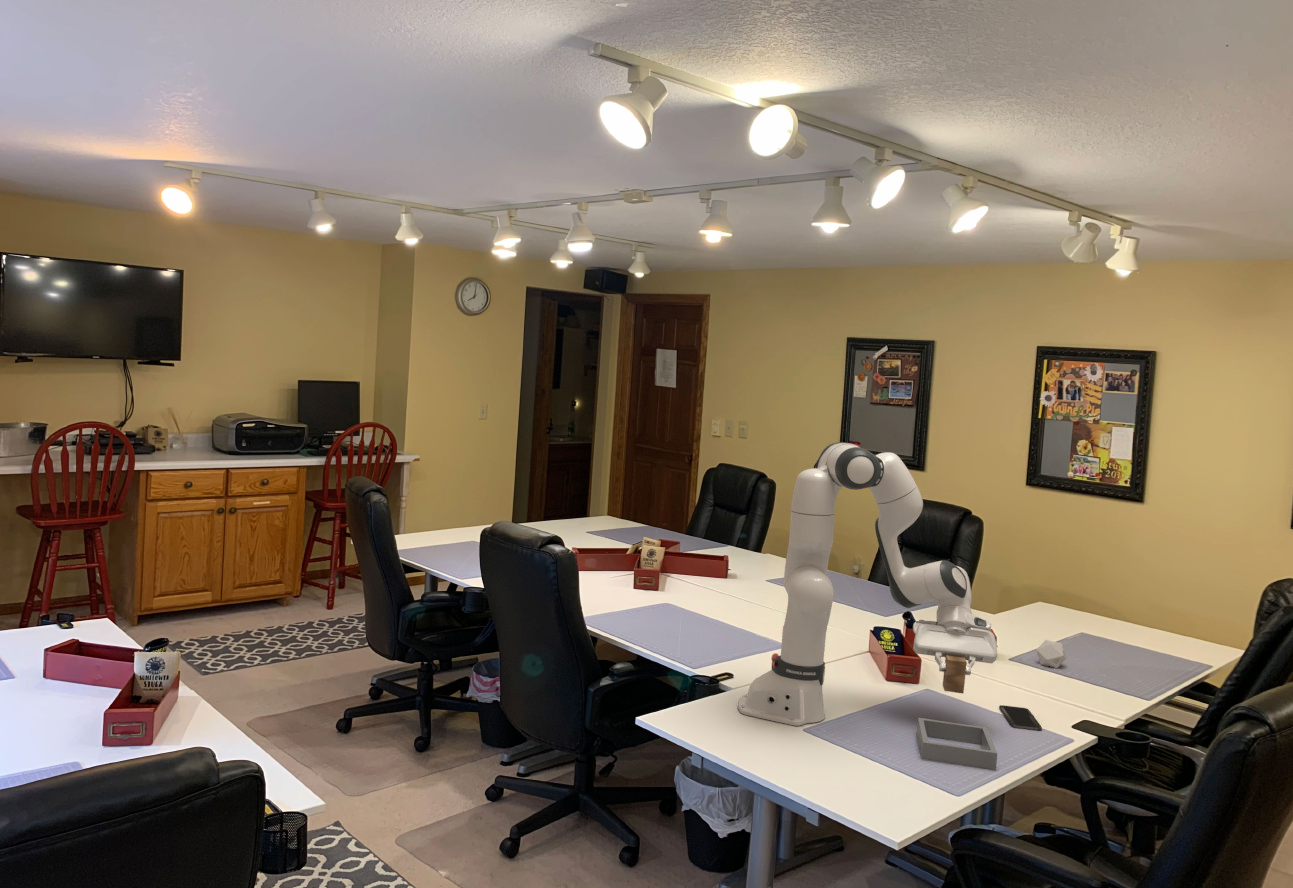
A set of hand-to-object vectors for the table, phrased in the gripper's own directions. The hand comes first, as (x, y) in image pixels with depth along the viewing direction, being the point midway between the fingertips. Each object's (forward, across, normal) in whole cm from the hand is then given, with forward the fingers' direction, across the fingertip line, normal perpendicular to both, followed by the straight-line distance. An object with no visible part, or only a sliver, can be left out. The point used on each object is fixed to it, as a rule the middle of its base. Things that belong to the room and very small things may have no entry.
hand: (955, 672), depth 229 cm
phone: (-2, +21, +25) cm, 33 cm away
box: (+19, 0, +4) cm, 19 cm away
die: (-42, +40, +65) cm, 87 cm away
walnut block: (+3, 0, +4) cm, 5 cm away
